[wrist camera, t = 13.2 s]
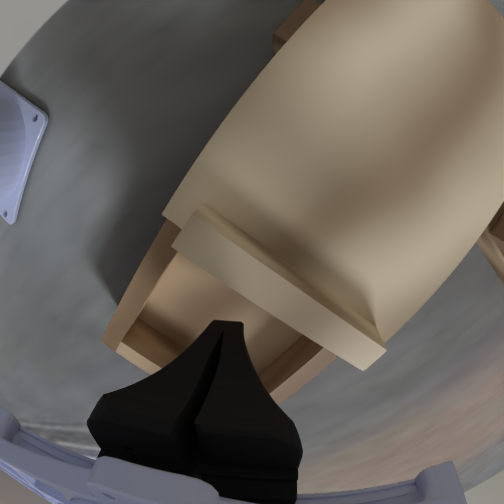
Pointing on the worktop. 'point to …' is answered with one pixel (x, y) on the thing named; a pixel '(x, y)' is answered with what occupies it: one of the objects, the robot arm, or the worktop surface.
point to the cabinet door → (499, 234)
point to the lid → (354, 169)
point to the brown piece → (223, 301)
